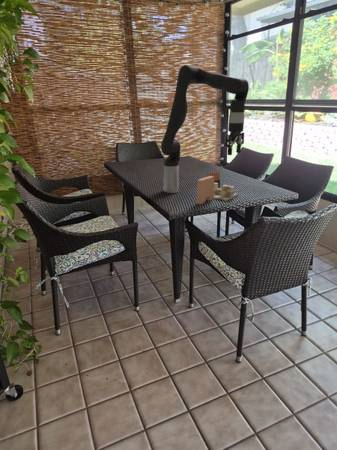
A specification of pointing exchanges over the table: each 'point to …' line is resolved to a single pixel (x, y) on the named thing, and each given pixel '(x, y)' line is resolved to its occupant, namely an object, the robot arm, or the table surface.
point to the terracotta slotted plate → (205, 189)
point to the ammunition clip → (215, 177)
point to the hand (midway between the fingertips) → (234, 153)
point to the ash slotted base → (224, 192)
